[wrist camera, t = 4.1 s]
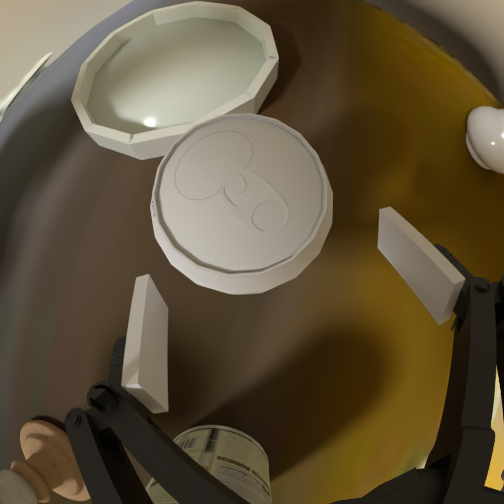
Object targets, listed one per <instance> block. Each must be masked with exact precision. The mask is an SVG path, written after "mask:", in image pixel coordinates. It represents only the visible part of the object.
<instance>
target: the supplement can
mask: <svg viewBox="0 0 504 504" xmlns="http://www.w3.org/2000/svg"><path fill="white" fill-rule="evenodd" d="M150 209H151V215H152V222H153V228H154V234H155V238H156V239H157V241H158V243H159V245H160V246H161V248H162V250H163V251H164V253H165V255H166V256H167V258H168V260H169V261H170V263H171V264H172V265H173V266H174V267H175V268H177V269H178V270H179V271H181V272H182V273H183V274H184V275H186V276H187V277H188V278H190V279H191V280H192V281H193V282H195V283H196V284H198V285H201V286H204V287H208V288H211V289H214V290H218V291H221V292H224V293H228V294H236V295H248V294H260V293H263V292H265V291H267V290H269V289H272V288H274V287H276V286H278V285H280V284H283V283H285V282H287V281H289V280H291V279H293V278H296V277H297V276H298V275H299V274H300V273H301V272H302V271H303V270H304V269H305V268H306V267H307V266H308V265H309V264H310V263H311V262H312V261H313V260H314V259H315V258H316V256H317V255H318V254H319V253H320V251H321V249H322V246H323V244H324V242H325V240H326V237H327V235H328V233H329V230H330V228H331V225H332V213H333V192H332V189H331V186H330V183H329V180H328V177H327V174H326V172H325V169H324V166H323V164H322V163H321V161H320V159H319V156H318V154H317V153H316V152H315V150H314V149H313V148H312V147H311V146H310V144H309V143H308V142H307V141H306V140H305V139H304V137H303V136H302V135H301V134H300V133H299V132H297V131H295V130H294V129H292V128H290V127H289V126H287V125H285V124H284V123H282V122H280V121H278V120H277V119H274V118H269V117H265V116H261V115H256V114H251V113H240V114H228V115H220V116H217V117H215V118H212V119H210V120H207V121H205V122H202V123H200V124H197V125H195V126H193V127H192V128H191V129H190V130H188V131H187V132H186V133H185V134H184V135H182V136H181V137H180V138H179V139H178V140H176V141H175V142H174V143H173V144H172V145H171V147H170V149H169V150H168V152H167V153H166V155H165V157H164V158H163V160H162V161H161V163H160V165H159V166H158V169H157V174H156V178H155V183H154V188H153V192H152V201H151V206H150Z"/></svg>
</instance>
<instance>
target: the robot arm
mask: <svg viewBox="0 0 504 504" xmlns="http://www.w3.org/2000/svg"><path fill="white" fill-rule="evenodd" d="M377 248H378V249H379V250H380V251H381V253H382V254H383V255H384V256H385V257H386V259H387V260H388V261H389V262H390V263H391V264H392V266H393V267H394V268H395V269H396V270H397V272H398V273H399V274H400V275H401V277H402V278H403V279H404V280H405V282H406V283H407V284H408V285H409V287H410V288H411V289H412V290H413V292H414V293H415V294H416V295H417V297H418V298H419V299H420V301H421V302H422V303H423V305H424V306H425V307H426V309H427V310H428V311H429V313H430V314H431V315H432V317H433V318H434V319H435V321H436V322H437V323H438V325H440V324H442V323H444V322H446V321H447V320H449V319H450V317H451V315H452V313H453V311H454V313H455V314H456V315H457V316H456V318H455V320H454V323H453V325H452V327H451V330H453V328H454V326H455V329H454V342H453V353H452V361H451V369H450V376H449V383H448V389H447V394H446V400H445V405H444V410H443V414H442V419H441V423H440V427H439V431H438V435H437V439H436V442H435V445H434V447H433V449H432V450H431V452H430V454H429V456H428V459H427V461H426V464H425V467H424V468H422V469H416V467H415V468H414V469H412V470H410V471H408V472H406V473H404V474H402V475H400V476H398V477H396V478H394V479H392V480H390V481H387V482H385V483H383V484H381V485H379V486H378V487H376V488H375V489H373V490H372V491H370V492H369V493H368V494H366V495H365V496H363V497H362V498H355V499H348V500H340V501H336V502H333V503H330V504H504V486H503V488H502V490H501V491H499V490H496V489H492V488H489V487H486V486H484V485H485V481H486V477H487V474H488V470H489V466H490V461H491V457H492V452H493V447H494V442H495V432H494V431H493V430H492V429H491V420H492V413H493V404H494V394H495V380H496V365H497V371H498V377H499V383H500V390H501V398H502V408H503V419H504V275H503V276H502V278H501V280H500V282H493V283H489V281H487V280H486V279H484V278H481V277H476V278H475V277H474V276H473V275H472V274H471V273H470V272H469V271H468V270H467V269H466V268H465V267H464V266H463V265H462V264H461V263H460V262H459V261H457V259H456V258H455V257H454V256H452V254H451V253H450V252H449V251H448V250H447V249H446V248H444V247H442V246H441V245H439V244H435V245H432V244H431V243H430V242H429V241H428V240H427V239H426V238H425V237H424V236H423V235H422V234H421V233H419V232H418V231H417V230H416V229H415V228H414V227H413V226H412V225H411V224H410V223H409V222H407V221H406V220H405V219H404V218H403V217H402V216H401V215H400V214H398V213H397V212H396V211H395V210H394V209H393V208H391V207H386V208H382V209H379V231H378V247H377ZM167 338H168V307H167V306H166V304H165V302H164V300H163V299H162V297H161V295H160V293H159V292H158V290H157V288H156V286H155V284H154V283H153V281H152V279H151V277H150V275H149V274H147V275H144V276H140V277H137V278H136V282H135V288H134V293H133V299H132V305H131V311H130V317H129V324H128V331H127V337H123V338H118V339H117V341H116V343H115V345H114V347H113V353H112V360H111V367H110V375H109V383H107V382H103V381H101V382H97V383H96V384H94V385H93V386H92V387H91V388H90V389H89V392H88V394H87V401H88V404H89V405H90V406H91V407H92V409H90V410H87V411H84V410H82V409H81V408H73V409H71V410H70V411H69V412H68V414H67V415H66V418H65V427H66V430H67V434H68V437H69V441H70V444H71V447H72V450H73V453H74V456H75V459H76V462H77V465H78V468H79V471H80V473H81V476H82V478H83V481H84V484H85V486H86V488H87V491H88V493H89V496H90V498H91V500H92V502H93V504H154V503H153V501H152V500H151V498H150V496H149V495H148V493H147V491H146V489H145V488H144V486H143V484H142V482H141V481H140V479H139V477H138V475H137V473H136V471H135V469H134V467H133V466H132V464H131V462H130V460H129V458H128V456H127V454H126V451H125V449H124V447H123V445H122V443H123V444H124V445H125V447H126V448H127V449H128V450H129V451H130V453H131V454H132V455H133V456H134V457H135V458H136V460H137V461H138V462H139V463H140V464H141V465H142V466H143V468H144V469H145V470H146V471H147V472H148V473H149V474H150V475H151V476H152V477H153V478H154V479H155V480H156V481H157V483H158V484H159V485H160V486H161V487H162V488H163V489H164V490H165V491H166V492H167V493H168V494H170V495H171V496H172V497H173V498H174V499H175V500H176V501H177V502H178V503H179V504H251V503H249V502H248V501H247V500H245V499H244V498H242V497H241V496H239V495H238V494H237V493H235V492H234V491H232V490H231V489H230V488H228V487H227V486H226V485H224V484H223V483H222V482H220V481H219V480H218V479H217V478H215V477H214V476H213V475H212V474H210V473H209V472H208V471H207V470H205V469H204V468H203V467H202V466H201V465H199V464H198V463H197V462H196V461H195V460H194V459H192V458H191V457H190V456H189V455H188V454H187V453H186V452H185V451H183V450H182V449H181V448H180V447H179V446H178V445H177V444H176V443H175V442H174V441H173V440H172V439H171V438H170V437H168V436H167V435H166V434H165V433H164V432H163V431H162V430H161V429H160V428H159V427H158V426H157V425H156V424H155V423H154V422H153V420H152V419H151V418H149V417H148V409H149V410H150V411H151V412H152V413H161V412H168V378H167ZM121 442H122V443H121ZM501 478H502V480H503V481H504V470H503V472H502V475H501Z"/></svg>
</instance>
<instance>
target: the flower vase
mask: <svg viewBox="0 0 504 504" xmlns="http://www.w3.org/2000/svg"><path fill="white" fill-rule="evenodd" d="M466 144H467V148H468V150H469V152H470V154H471V156H472V157H473V159H474V160H475V161H476V162H477V163H478V164H479V165H480V166H481V167H483V168H484V169H487V170H493V171H494V172H497V173H500V174H504V109H497V108H494V107H490V106H480V107H477V108H475V109H473V110H472V111H471V112H470V114H469V115H468V119H467V133H466Z"/></svg>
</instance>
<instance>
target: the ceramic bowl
mask: <svg viewBox="0 0 504 504" xmlns="http://www.w3.org/2000/svg"><path fill="white" fill-rule="evenodd" d="M278 63H279V56H278V53H277V49H276V45H275V42H274V38H273V34H272V31H271V27H270V26H269V25H268V24H266V23H265V22H263V21H262V20H260V19H259V18H257V17H256V16H254V15H252V14H251V13H249V12H248V11H246V10H244V9H243V8H241V7H239V6H234V5H227V4H219V3H211V2H200V1H195V2H189V3H184V4H178V5H173V6H169V7H164V8H160V9H156V10H152V11H150V12H148V13H146V14H144V15H142V16H140V17H138V18H136V19H134V20H132V21H131V22H129V23H127V24H125V25H124V26H122V27H120V28H118V29H117V30H115V31H113V32H112V33H110V34H109V35H108V37H107V38H106V39H105V40H104V41H103V42H102V43H101V44H100V45H99V46H98V47H97V48H96V49H95V50H94V51H93V52H92V54H91V55H90V56H89V57H88V58H87V59H86V60H85V62H84V63H83V64H82V66H81V69H80V72H79V75H78V78H77V81H76V84H75V88H74V91H73V94H72V98H71V102H72V104H73V106H74V108H75V110H76V113H77V115H78V117H79V119H80V121H81V124H82V126H83V128H84V130H85V131H86V132H87V133H88V134H89V135H90V136H91V137H92V139H93V140H94V141H95V142H96V143H97V144H98V145H100V146H103V147H106V148H108V149H111V150H114V151H117V152H120V153H123V154H126V155H129V156H132V157H135V158H137V159H140V160H144V159H149V158H155V157H160V156H165V155H166V153H167V152H168V150H169V149H170V147H171V145H172V144H173V143H174V142H175V141H176V140H178V139H179V138H180V137H181V136H182V135H184V134H185V133H186V132H187V131H188V130H190V129H191V128H192V127H193V126H195V125H197V124H200V123H202V122H205V121H207V120H210V119H212V118H215V117H217V116H220V115H228V114H240V113H251V114H257V112H258V110H259V109H260V107H261V105H262V103H263V102H264V100H265V98H266V97H267V95H268V93H269V91H270V90H271V88H272V86H273V85H274V83H275V81H276V80H277V74H278Z"/></svg>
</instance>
